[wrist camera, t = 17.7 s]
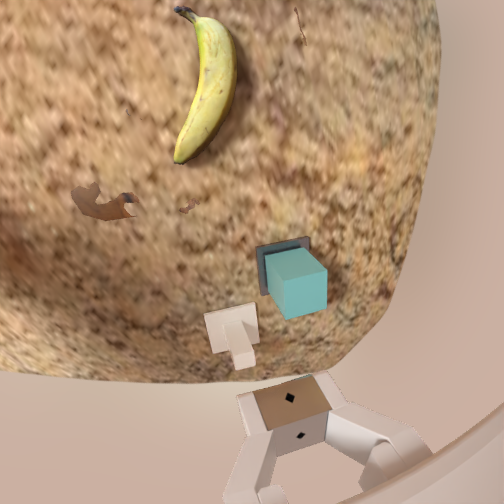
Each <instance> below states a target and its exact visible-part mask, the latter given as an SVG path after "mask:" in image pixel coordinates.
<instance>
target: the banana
mask: <svg viewBox="0 0 504 504" xmlns="http://www.w3.org/2000/svg"><path fill="white" fill-rule="evenodd" d="M174 11H175V12H176V13H179V14H180V15H181V16H183V17H185V18H186V19H188V20H189V21H190V22H191V23H193V24H194V27H195V31H196V35H197V41H198V46H199V55H200V77H199V84H198V89H197V92H196V95H195V98H194V101H193V103H192V105H191V109H190V112H189V114H188V118H187V120H186V122H185V124H184V126H183V128H182V130H181V132H180V134H179V136H178V140H177V143H176V147H175V153H174V163H175V164H182V165H184V164H185V163H186V162H187V161H188V160H190V159H192V158H195V157H197V156H198V155H199V154H200V153H201V152H203V151H204V150H205V148H206V147H207V146H208V145H209V144H210V142H211V141H212V140H213V139H214V137H215V136H216V135H217V133H218V131H219V129H220V127H221V125H222V124H223V122H224V121H225V119H226V117H227V115H228V113H229V110H230V108H231V104H232V101H233V98H234V94H235V89H236V82H237V55H236V50H235V46H234V42H233V38H232V36H231V34H230V32H229V31H228V29H227V28H226V27H225V26H224V25H223V24H222V23H220V22H219V21H217V20H216V19H213V18H208V17H200V16H198V15H196V14H195V13H194V12H192V11H191V9H190V8H188V7H185V6H183V7H179V6H177V7H175V8H174ZM294 11H295V12H296V14H297V17H298V12H297V9H296V7H295V8H294ZM298 22H299V18H298ZM299 27H300V30H301V26H300V22H299ZM301 32H302V30H301ZM302 34H303V32H302ZM302 34H301V35H302ZM303 37H304V38H303V39H302V40H303V41H304V44H305V45H306V46H307V44H306V38H305V36H304V34H303ZM126 112H127V114H128V111H127V109H126ZM128 115H129V114H128ZM129 116H130V115H129ZM140 119H141V118H140ZM141 120H142V119H141ZM99 194H100V190H99V187H98V184H97V183H95V182H94V183H92V184H91V185H90V189H86V188H83V187H81V186H78V187H77V188H76V189H74V190H73V191H71V195H72V199H73V200H74V202H75V203H76V205H77V206H78V207H79V209H80V210H81V212H82V213H83V214H84V215H87V216H91V217H94V218H98V219H101V220H104V221H108V220H114V219H121V218H127V217H136V216H131V215H130V214H129V213H128V212H127V211H126V210H125V209H124V203H126V202H127V203H134V202H138V203H139V200H138V198H137V197H136V196H135V195H134V194H133V193H132V192H131V193H122V194H120V195H119V196H118V197H117V198H116V199H115V200H114V201H109V202H108V203H107V204H100V205H98V204H96V203H95V201H96V199H97V197H98V195H99ZM187 203H188V204H189V205H188V207H186V208H180V210H179V211H180V212H183V213H185V214H187V213H188V211H189V210H190V209H192V208H194V207H195V203H196V204H198V205H199V204H200V203H199V201H198V200H197V199H195V198H193V199H192V200H189V201H188V202H187Z"/></svg>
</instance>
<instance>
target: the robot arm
mask: <svg viewBox="0 0 504 504" xmlns="http://www.w3.org/2000/svg"><path fill="white" fill-rule="evenodd" d="M237 401H238V406H239V410H240V414H241V418H242V422H243V426H244V429H245V432H246V435H247V437H245V439H244V442H243V445H242V448H241V450H240V452H239V455H238V458H237V460H236V463H235V466H234V468H233V471H232V473H231V476H230V478H229V481H228V483H227V486H226V488H225V491H224V493H223V496H222V497H223V501H224V504H289V503H288V501H287V499H286V496H285V494H284V491H283V489H282V487H281V486H278V485H271V486H270V482H271V478H272V474H273V471H274V467H275V463H276V459H277V458H276V457H278V456H281V455H284V454H287V453H290V452H293V451H296V450H299V449H302V448H305V447H308V446H311V445H314V444H317V443H320V442H323V441H325V442H326V443H327V444H329V445H331V446H332V447H334V448H335V449H337V450H339V451H340V452H342V453H344V454H345V455H347V456H349V457H350V458H352V459H354V460H355V461H357V462H359V463H361V464H362V465H365V468H364V470H363V473H362V475H361V477H360V480H359V484H360V486H361V488H362V490H363V491H364V492H362V493H360V494H358V495H356V496H353V497H351V498H349V499H347V500H344V501H342V502H339V503H337V504H504V402H503V403H502V404H501V405H500V406H499V407H497V408H496V409H495V410H494V411H492V412H491V413H490V414H489V415H488V416H486V417H485V418H484V419H483V420H481V421H480V422H479V423H477V424H476V425H475V426H473V427H472V428H471V429H470V430H468V431H467V432H465V433H464V434H463V435H461V436H460V437H458V438H457V439H455V440H454V441H453V442H451V443H450V444H448V445H447V446H445V447H444V448H442V449H441V450H439V451H438V452H436V453H434V454H433V453H432V452H431V450H430V449H429V448H428V446H427V445H426V444H425V442H424V441H423V440H422V439H421V437H420V436H419V434H418V433H417V432H416V430H415V429H414V428H413V427H412V426H410V425H407V424H404V423H402V422H400V421H397V420H395V419H392V418H390V417H387V416H385V415H382V414H380V413H377V412H375V411H373V410H370V409H368V408H366V407H363V406H361V405H359V404H356V403H354V402H351V403H348V401H347V400H346V398H345V397H344V395H343V394H342V392H341V391H340V389H339V388H338V386H337V385H336V383H335V382H334V381H333V379H332V377H331V376H330V374H329V373H328V371H326V370H322V371H319V372H316V373H313V374H309V375H306V376H303V377H300V378H297V379H294V380H291V381H287V382H284V383H282V384H279V385H276V386H272V387H268V388H264V389H260V390H256V391H252V392H248V393H244V394H240V395H237Z"/></svg>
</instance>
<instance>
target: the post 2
mask: <svg viewBox="0 0 504 504" xmlns="http://www.w3.org/2000/svg"><path fill="white" fill-rule="evenodd" d="M303 247H304V248H305V249H306V250H307V251H308V252H309V237H308V236H305V237H300V238H295V239H290V240H285V241H281V242H276V243H271V244H266V245H261V246H257V247H255V248H256V257H257V266H258V275H259V285H260V294H261V296H264V295H268V294H270V293H269V292H268V283H267V272H266V261H265V256H266V255H271V254H275V253H280V252H285V251H289V250H294V249H298V248H303Z"/></svg>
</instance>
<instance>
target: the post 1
mask: <svg viewBox="0 0 504 504" xmlns="http://www.w3.org/2000/svg"><path fill="white" fill-rule="evenodd" d="M204 319H205V323H206V327H207V331H208V336H209V340H210V344H211V348H212V352H213V354H215V353H219V352H224V351H228V350H229V351H230V354H231V357H232V360H233V363H234V366H235V369H236V371H237V370H241V369H244V368H248V367H252V366H256V362H255V355H254V350H253V348H252V344H256V343H260V340H259V332H258V324H257V315H256V307H255V303H254V302H252V303H248V304H243V305H239V306H235V307H230V308H226V309H222V310H217V311H213V312H208V313H204Z"/></svg>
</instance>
